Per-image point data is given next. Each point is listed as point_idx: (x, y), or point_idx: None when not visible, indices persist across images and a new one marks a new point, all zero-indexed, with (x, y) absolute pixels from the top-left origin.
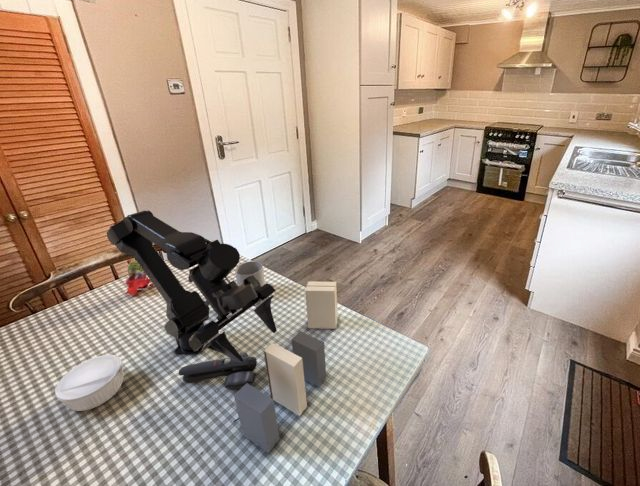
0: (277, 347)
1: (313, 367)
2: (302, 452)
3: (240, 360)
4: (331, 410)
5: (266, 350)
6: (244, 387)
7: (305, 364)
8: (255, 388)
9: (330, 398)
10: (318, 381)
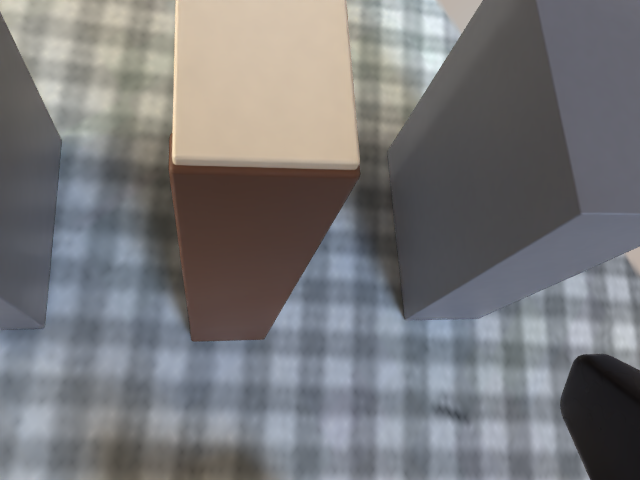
0: (209, 35)
1: (11, 76)
2: (368, 40)
3: (627, 364)
4: (149, 21)
5: (336, 136)
6: (618, 193)
7: (6, 160)
8: (558, 110)
9: (92, 54)
10: (46, 114)
